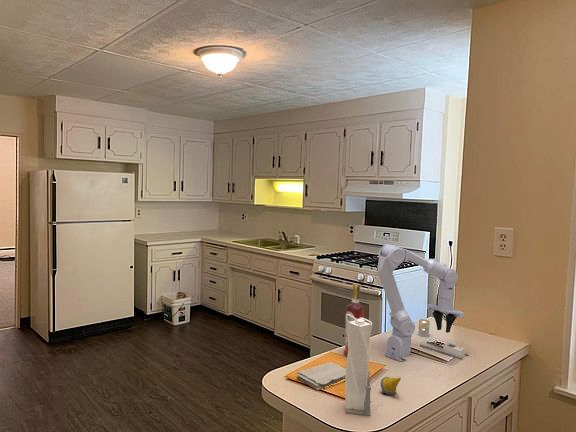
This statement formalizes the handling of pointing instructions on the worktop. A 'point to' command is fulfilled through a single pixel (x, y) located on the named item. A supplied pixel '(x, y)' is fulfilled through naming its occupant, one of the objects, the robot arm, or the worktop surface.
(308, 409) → the worktop surface
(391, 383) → the yellow pear
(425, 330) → the marbled round peg
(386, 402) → the worktop surface
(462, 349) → the block
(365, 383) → the skyscraper
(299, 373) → the washcloth
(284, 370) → the worktop surface
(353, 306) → the liquor
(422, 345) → the board
